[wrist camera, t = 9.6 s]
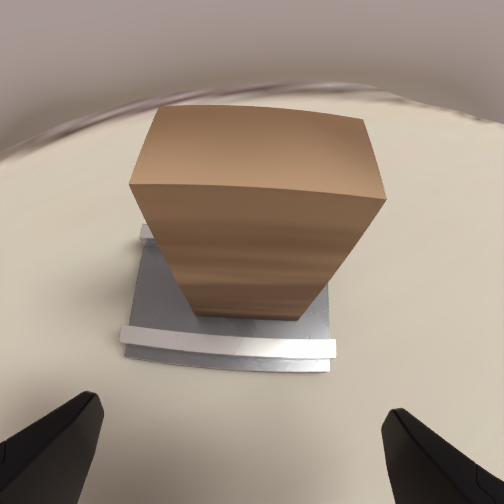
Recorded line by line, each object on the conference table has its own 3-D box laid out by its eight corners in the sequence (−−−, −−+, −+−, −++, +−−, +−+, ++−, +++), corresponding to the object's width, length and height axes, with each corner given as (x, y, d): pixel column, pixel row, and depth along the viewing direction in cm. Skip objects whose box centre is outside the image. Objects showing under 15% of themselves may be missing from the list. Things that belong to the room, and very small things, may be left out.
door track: (321, 241, 21) (329, 225, 19) (324, 372, 17) (335, 369, 15) (152, 231, 21) (144, 214, 19) (130, 357, 17) (117, 353, 15)
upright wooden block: (297, 321, 17) (386, 199, 6) (195, 315, 17) (128, 184, 6) (296, 265, 19) (358, 108, 8) (201, 260, 19) (164, 95, 8)
